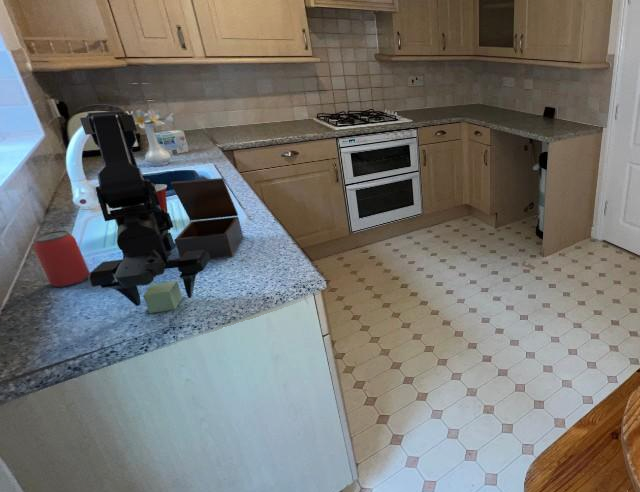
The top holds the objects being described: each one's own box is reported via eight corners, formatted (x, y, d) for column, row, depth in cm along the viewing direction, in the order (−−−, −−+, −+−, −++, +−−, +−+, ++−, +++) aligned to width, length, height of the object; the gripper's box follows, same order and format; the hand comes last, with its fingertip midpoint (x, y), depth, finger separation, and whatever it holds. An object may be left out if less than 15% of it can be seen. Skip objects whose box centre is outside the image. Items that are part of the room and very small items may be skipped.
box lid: (222, 179, 108) (225, 168, 111) (170, 183, 104) (175, 172, 108) (237, 215, 116) (240, 204, 120) (190, 220, 113) (194, 209, 116)
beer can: (56, 291, 92) (33, 244, 88) (47, 282, 95) (26, 236, 91) (95, 278, 97) (75, 233, 93) (85, 270, 101) (67, 226, 96)
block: (149, 313, 85) (142, 295, 84) (158, 301, 89) (152, 284, 88) (175, 309, 87) (168, 291, 85) (182, 297, 91) (177, 280, 89)
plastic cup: (164, 215, 133) (153, 180, 129) (185, 220, 129) (174, 185, 125) (125, 227, 124) (111, 191, 119) (146, 234, 120) (132, 196, 116)
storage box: (232, 256, 109) (226, 234, 106) (181, 263, 105) (174, 239, 102) (243, 237, 119) (238, 216, 117) (197, 242, 116) (191, 221, 113)
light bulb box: (167, 156, 201) (161, 134, 197) (158, 154, 204) (152, 133, 200) (190, 151, 211) (184, 130, 207) (181, 150, 213) (175, 129, 209)
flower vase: (190, 162, 192) (175, 108, 183) (141, 170, 178) (121, 113, 169) (180, 157, 199) (165, 106, 190) (132, 165, 185) (113, 110, 176)
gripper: (56, 262, 72) (89, 333, 78) (182, 247, 78) (204, 314, 84) (91, 236, 81) (118, 301, 87) (201, 224, 87) (219, 286, 93)
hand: (165, 300), depth 88 cm, fingers open, 9 cm apart
